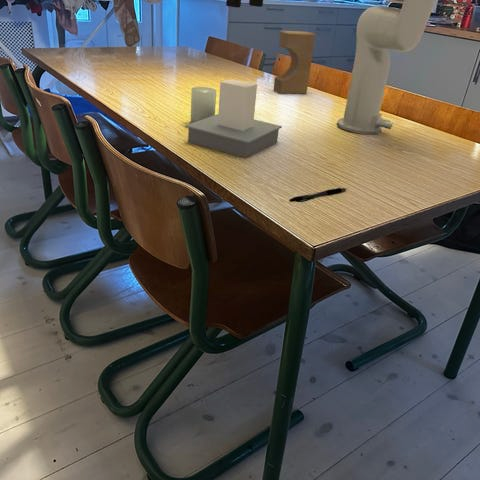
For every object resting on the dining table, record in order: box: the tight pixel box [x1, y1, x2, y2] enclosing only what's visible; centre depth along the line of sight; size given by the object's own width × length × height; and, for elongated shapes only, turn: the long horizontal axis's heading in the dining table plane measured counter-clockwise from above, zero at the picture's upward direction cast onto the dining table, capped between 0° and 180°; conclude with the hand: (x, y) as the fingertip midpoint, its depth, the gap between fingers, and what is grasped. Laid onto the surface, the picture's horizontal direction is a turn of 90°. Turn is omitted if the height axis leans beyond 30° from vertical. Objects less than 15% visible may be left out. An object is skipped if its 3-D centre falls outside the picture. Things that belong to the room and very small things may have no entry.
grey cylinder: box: [189, 86, 217, 124], centre depth 127 cm, size 6×6×9 cm
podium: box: [185, 113, 283, 159], centre depth 117 cm, size 17×17×4 cm
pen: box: [289, 187, 347, 203], centre depth 93 cm, size 14×2×1 cm, turn 121°
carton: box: [217, 78, 258, 131], centre depth 114 cm, size 5×7×10 cm
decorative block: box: [273, 30, 316, 95], centre depth 167 cm, size 11×6×20 cm, turn 110°
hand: (244, 6), depth 103 cm, fingers open, 9 cm apart
